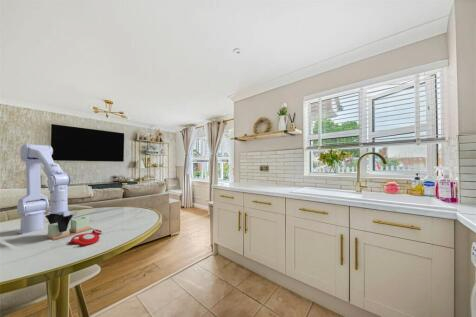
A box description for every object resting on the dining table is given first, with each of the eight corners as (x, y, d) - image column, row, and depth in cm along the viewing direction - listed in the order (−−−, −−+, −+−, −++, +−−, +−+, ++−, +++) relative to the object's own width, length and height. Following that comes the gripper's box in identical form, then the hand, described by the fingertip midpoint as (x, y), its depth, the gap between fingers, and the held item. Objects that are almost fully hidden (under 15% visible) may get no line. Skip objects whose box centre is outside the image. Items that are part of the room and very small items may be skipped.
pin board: (43, 239, 81) (43, 229, 82) (83, 228, 95) (83, 219, 95) (53, 242, 77) (53, 232, 77) (94, 230, 91) (94, 221, 91)
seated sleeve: (70, 230, 88) (70, 219, 89) (83, 227, 94) (83, 216, 94) (76, 232, 86) (76, 220, 86) (90, 228, 91) (89, 217, 91)
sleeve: (47, 237, 81) (47, 224, 81) (63, 232, 86) (63, 221, 86) (53, 239, 79) (53, 226, 79) (69, 234, 84) (69, 222, 84)
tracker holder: (99, 241, 75) (67, 241, 71) (96, 251, 76) (65, 251, 71) (104, 226, 86) (78, 225, 81) (102, 235, 86) (75, 234, 81)
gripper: (39, 201, 82) (39, 231, 82) (54, 203, 76) (54, 236, 76) (60, 198, 89) (60, 226, 88) (75, 200, 83) (75, 230, 82)
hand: (59, 230), depth 83 cm, fingers open, 7 cm apart
